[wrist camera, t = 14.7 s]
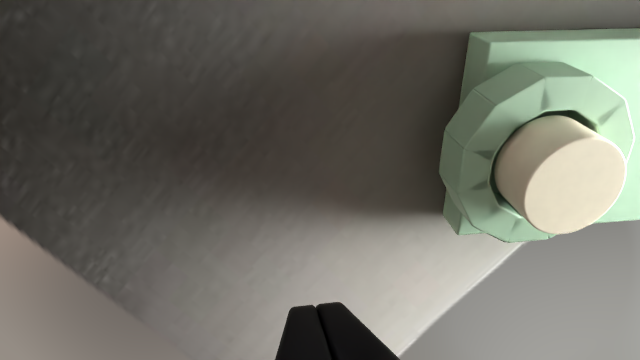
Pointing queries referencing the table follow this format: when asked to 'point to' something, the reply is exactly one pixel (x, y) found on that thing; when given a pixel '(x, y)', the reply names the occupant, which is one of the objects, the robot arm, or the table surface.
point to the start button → (559, 174)
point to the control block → (538, 116)
